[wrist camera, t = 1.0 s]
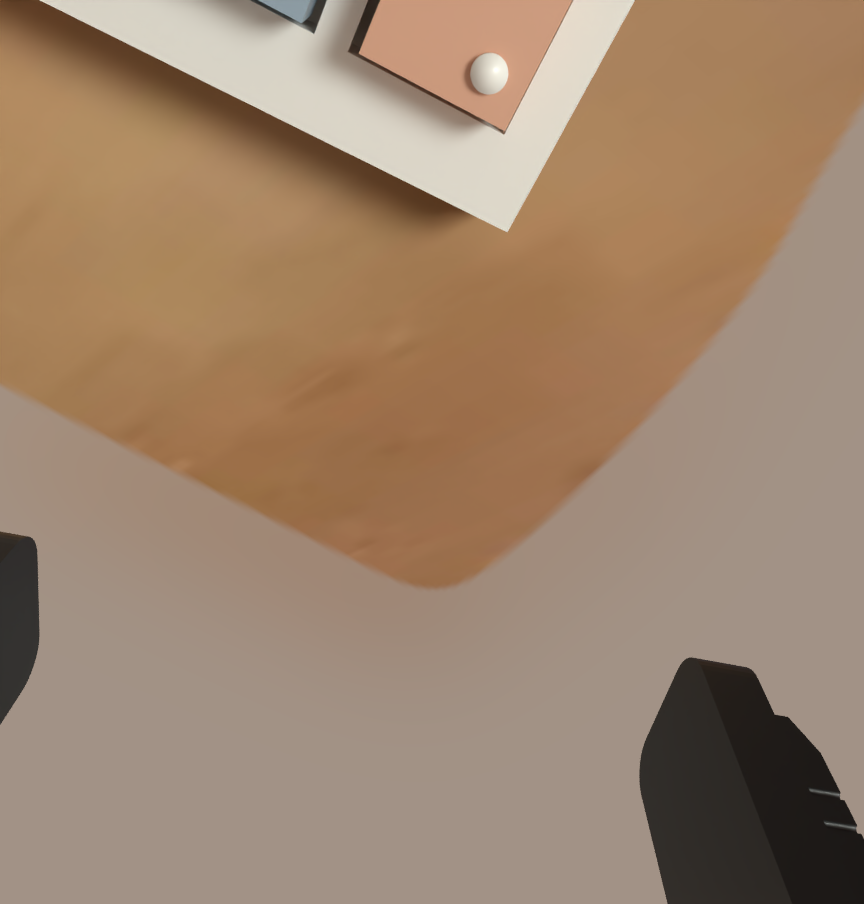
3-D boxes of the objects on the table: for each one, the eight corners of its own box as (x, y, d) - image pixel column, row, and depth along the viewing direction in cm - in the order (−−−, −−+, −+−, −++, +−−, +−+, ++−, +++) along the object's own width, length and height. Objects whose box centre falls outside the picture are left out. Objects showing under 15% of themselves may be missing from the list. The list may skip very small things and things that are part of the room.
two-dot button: (363, 42, 24) (358, 54, 21) (431, -125, 21) (433, -131, 19) (497, 113, 25) (505, 132, 22) (574, -39, 23) (591, -35, 20)
